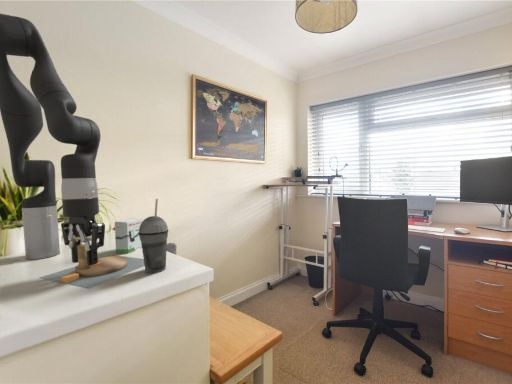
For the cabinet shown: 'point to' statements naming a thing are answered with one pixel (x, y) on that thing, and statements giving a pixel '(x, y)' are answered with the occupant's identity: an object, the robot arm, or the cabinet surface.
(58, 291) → the cabinet surface
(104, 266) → the dial
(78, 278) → the board
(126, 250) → the ink box
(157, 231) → the beverage cup
